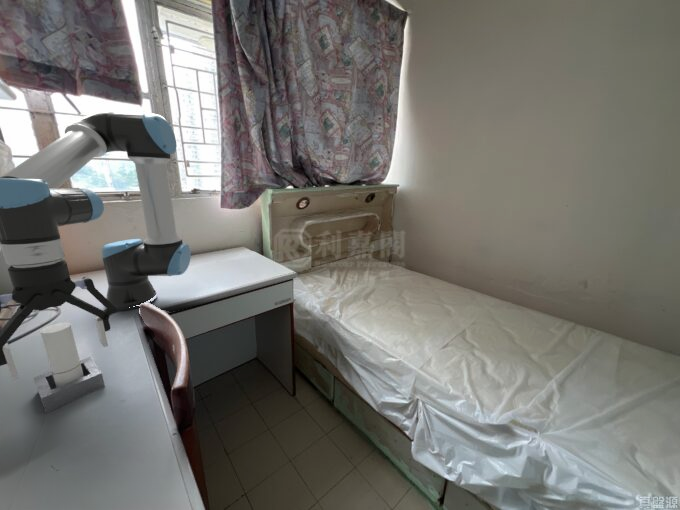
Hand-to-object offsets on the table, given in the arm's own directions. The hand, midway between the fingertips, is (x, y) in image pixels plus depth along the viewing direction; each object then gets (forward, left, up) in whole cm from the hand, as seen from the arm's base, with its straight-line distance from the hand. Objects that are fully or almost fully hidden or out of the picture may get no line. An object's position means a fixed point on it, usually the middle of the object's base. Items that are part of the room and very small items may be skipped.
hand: (63, 359), depth 56 cm
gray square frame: (0, 0, -8) cm, 8 cm away
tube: (0, 0, -8) cm, 8 cm away
